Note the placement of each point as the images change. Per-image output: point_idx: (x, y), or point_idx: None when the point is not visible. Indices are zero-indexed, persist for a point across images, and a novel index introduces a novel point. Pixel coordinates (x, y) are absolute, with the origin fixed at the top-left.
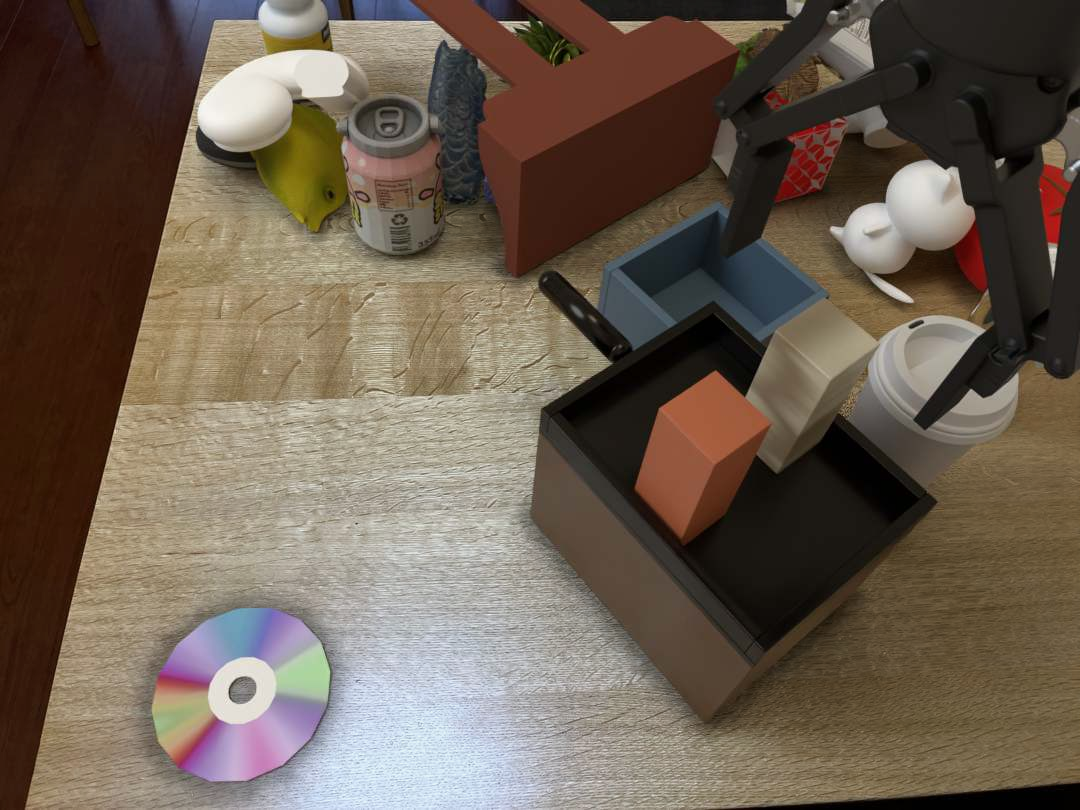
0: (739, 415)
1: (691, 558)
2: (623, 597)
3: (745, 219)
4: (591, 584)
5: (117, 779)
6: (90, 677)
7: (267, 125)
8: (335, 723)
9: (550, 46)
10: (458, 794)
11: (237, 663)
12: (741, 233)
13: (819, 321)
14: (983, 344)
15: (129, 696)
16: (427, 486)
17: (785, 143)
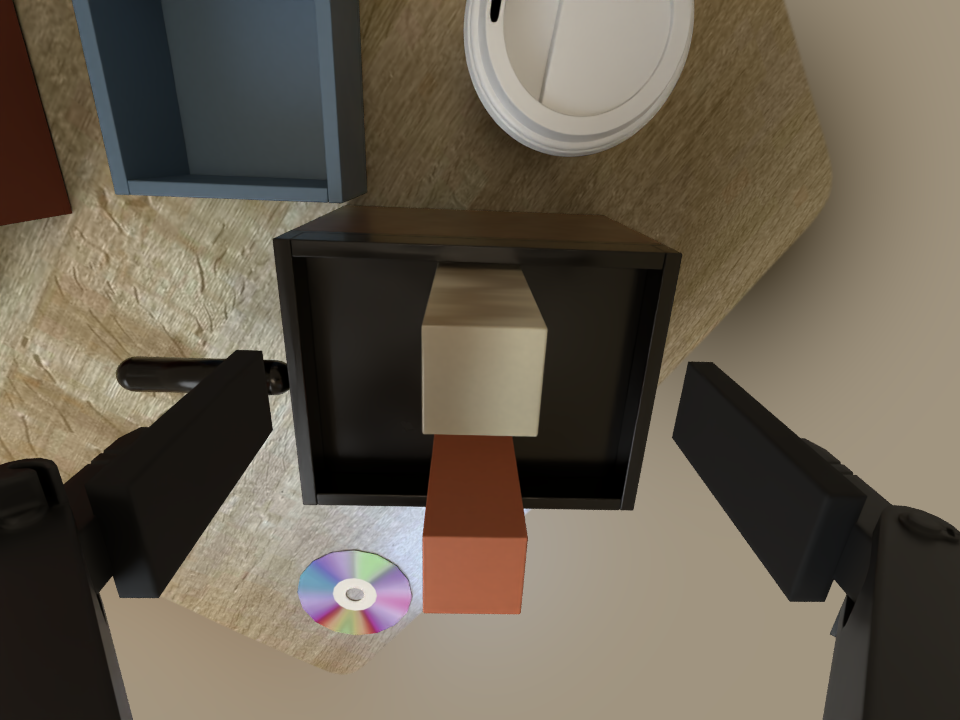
0: (492, 557)
1: (527, 500)
2: None
3: (235, 464)
4: None
5: (361, 653)
6: (294, 645)
7: None
8: (409, 566)
9: None
10: None
11: (336, 590)
12: (250, 440)
13: (453, 371)
14: (807, 600)
15: (319, 635)
16: (281, 435)
17: (110, 502)
